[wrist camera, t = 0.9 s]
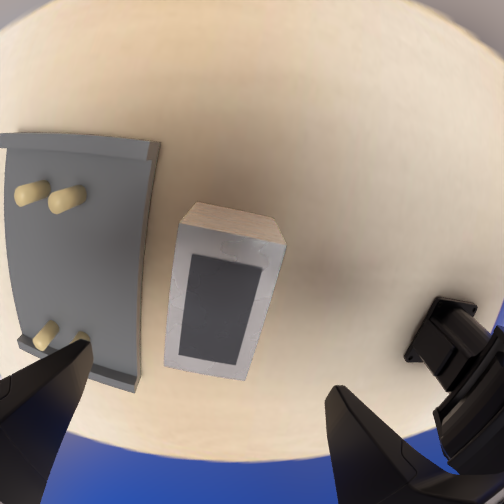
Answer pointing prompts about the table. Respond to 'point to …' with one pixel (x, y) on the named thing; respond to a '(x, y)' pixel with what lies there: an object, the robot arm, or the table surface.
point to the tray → (79, 244)
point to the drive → (220, 289)
